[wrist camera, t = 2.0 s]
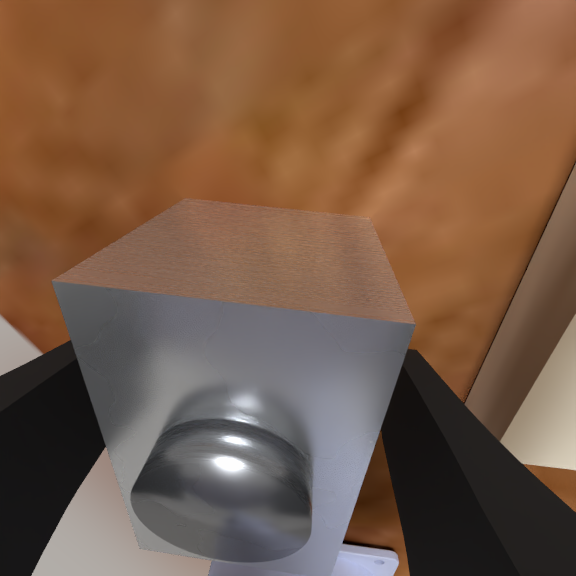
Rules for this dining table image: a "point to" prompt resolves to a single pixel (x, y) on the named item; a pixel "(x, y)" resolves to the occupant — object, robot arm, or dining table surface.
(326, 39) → the dining table surface
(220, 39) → the dining table surface
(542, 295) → the stand
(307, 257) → the housing
